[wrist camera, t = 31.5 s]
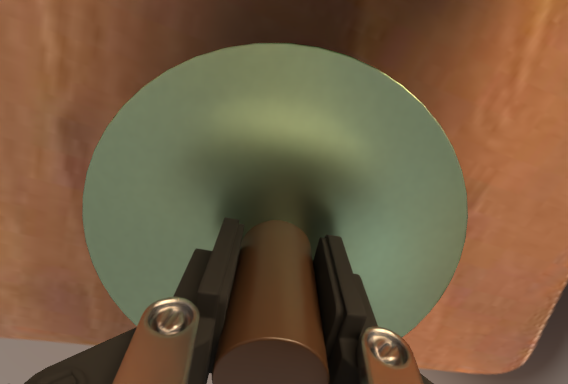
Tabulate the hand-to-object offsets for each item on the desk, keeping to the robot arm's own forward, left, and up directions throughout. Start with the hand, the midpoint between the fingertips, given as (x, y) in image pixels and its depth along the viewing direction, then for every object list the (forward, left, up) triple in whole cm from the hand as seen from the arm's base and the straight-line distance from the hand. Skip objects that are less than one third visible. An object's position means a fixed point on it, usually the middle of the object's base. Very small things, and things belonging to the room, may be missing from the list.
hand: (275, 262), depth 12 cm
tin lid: (0, 0, -1) cm, 1 cm away
